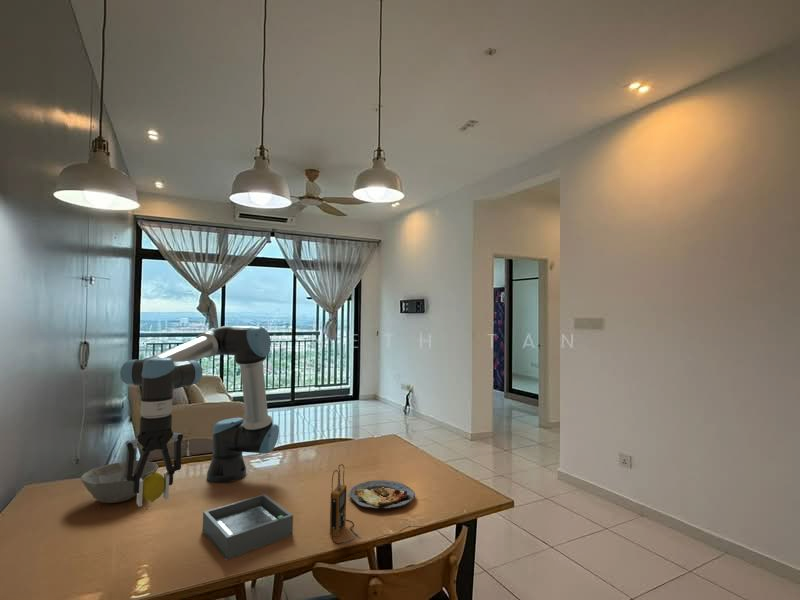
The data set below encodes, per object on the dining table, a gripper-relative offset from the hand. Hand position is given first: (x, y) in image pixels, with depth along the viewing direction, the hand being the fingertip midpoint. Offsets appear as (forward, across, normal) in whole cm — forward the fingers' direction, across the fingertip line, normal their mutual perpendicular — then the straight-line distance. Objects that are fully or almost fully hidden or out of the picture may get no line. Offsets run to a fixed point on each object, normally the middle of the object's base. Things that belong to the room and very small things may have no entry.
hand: (152, 500), depth 111 cm
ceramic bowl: (+17, +1, +51) cm, 54 cm away
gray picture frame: (+14, +26, -2) cm, 29 cm away
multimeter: (+17, +50, -22) cm, 57 cm away
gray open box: (+17, +26, -2) cm, 31 cm away
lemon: (+1, 0, 0) cm, 1 cm away
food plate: (+17, +74, -10) cm, 76 cm away
